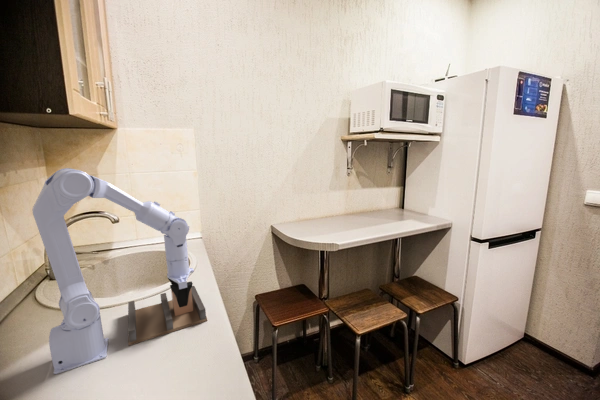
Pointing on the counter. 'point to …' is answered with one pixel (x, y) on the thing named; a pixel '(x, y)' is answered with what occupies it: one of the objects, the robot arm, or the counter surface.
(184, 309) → the block
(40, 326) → the counter surface
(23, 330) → the counter surface
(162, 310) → the rack
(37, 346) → the counter surface
